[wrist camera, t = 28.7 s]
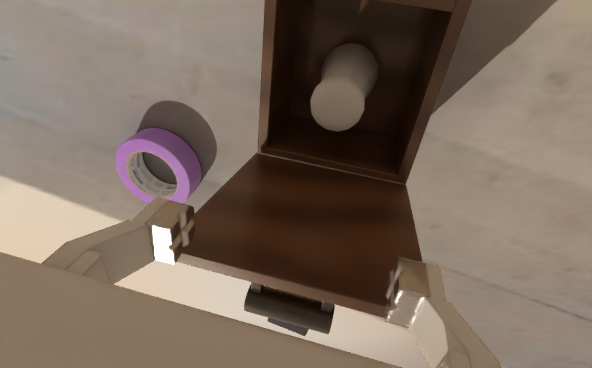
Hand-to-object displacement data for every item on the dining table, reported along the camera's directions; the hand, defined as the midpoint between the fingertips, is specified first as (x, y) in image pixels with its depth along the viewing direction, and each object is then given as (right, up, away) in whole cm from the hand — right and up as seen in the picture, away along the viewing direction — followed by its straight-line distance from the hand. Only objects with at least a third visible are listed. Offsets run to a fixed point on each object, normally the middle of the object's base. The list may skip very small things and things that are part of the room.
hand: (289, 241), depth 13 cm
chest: (+7, +16, +24) cm, 29 cm away
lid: (+2, +1, +12) cm, 12 cm away
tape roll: (-20, +6, +38) cm, 43 cm away
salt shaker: (+6, +15, +23) cm, 28 cm away
